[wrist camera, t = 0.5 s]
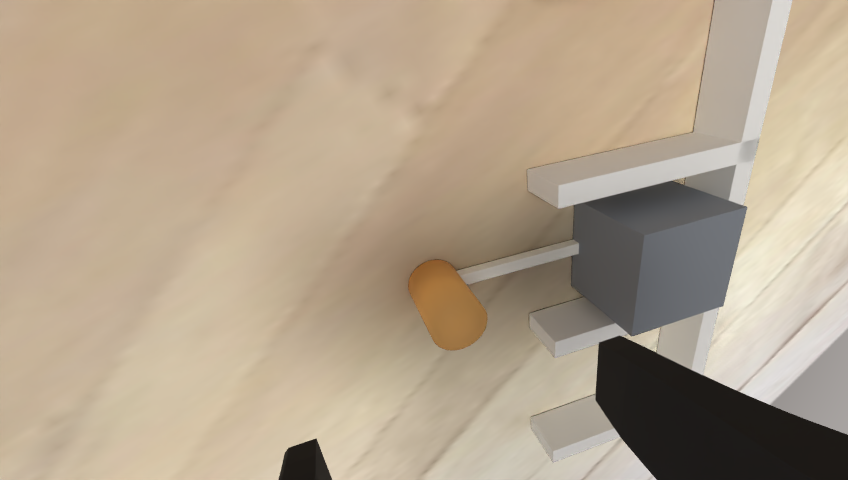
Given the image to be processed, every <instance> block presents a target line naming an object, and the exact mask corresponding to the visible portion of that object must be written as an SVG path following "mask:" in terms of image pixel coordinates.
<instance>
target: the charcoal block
mask: <svg viewBox="0 0 848 480" xmlns="http://www.w3.org/2000/svg"><path fill="white" fill-rule="evenodd" d="M746 210H747V207H746V206H743V205H740V204H737V203H734V202H732V201H729V200H726V199H723V198H720V197H717V196H714V195H711V194H708V193H706V192H703V191H700V190H697V189H694V188H691V187H688V186H685V185H682V184H680V183H677V182H674V181H668V182H664V183H660V184H656V185H652V186H648V187H644V188H640V189H636V190H632V191H628V192H624V193H620V194H616V195H612V196H608V197H604V198H600V199H596V200H591V201H587V202H583V203H579V204H575V205H574V227H573V239H572V240H569V241H565V242H561V243H557V244H554V245H550V246H546V247H543V248H539V249H535V250H531V251H528V252H524V253H520V254H516V255H513V256H509V257H505V258H502V259H498V260H494V261H490V262H487V263H483V264H479V265H476V266H472V267H468V268H464V269H461V270H457V271H456V270H455V269H454V267H453V266H452V265H451V264H449V263H448V262H446V261H443V260H431V261H427V262H425V263H423V264H421V265H420V266H418V267H417V268H416V269H415V270H414V272H413V273H412V275H411V277H410V279H409V285H408V287H409V292H410V294H411V297H412V299H413V301H414V303H415V305H416V307H417V309H418V311H419V313H420V315H421V317H422V319H423V321H424V323H425V325H426V327H427V329H428V331H429V333H430V335H431V337H432V339H433V341H434V342H435V344H436V345H438V346H439V347H441V348H443V349H446V350H459V349H463V348H466V347H468V346H470V345H471V344H473V343H474V342H475V341H477V340H478V339H479V338H480V336H481V335H482V334H483V332H484V330H485V328H486V325H487V313H486V311H485V309H484V307H483V306H482V305H481V303H480V302H479V301H478V299H477V298H476V297H475V295H474V294H473V293H472V291H471V290H470V289H469V287H468V286H467V285H468V284H472V283H476V282H479V281H483V280H486V279H490V278H494V277H497V276H501V275H504V274H508V273H512V272H515V271H519V270H522V269H526V268H530V267H533V266H537V265H540V264H544V263H548V262H551V261H555V260H558V259H562V258H566V257H569V256H572V277H571V286H572V287H573V288H575V289H576V290H577V291H578V292H579V293H581V294H582V295H583V296H584V297H585V298H586V299H588V300H589V301H590V302H591V303H592V304H594V305H595V306H596V307H597V308H598V309H600V310H601V311H602V312H603V313H604V314H606V315H607V316H608V317H609V318H610V319H611V320H613V321H614V322H615V323H616V324H617V325H619V326H620V327H621V328H622V329H623V330H625V331H626V332H627V333H628V334H629V335H630V336H635V335H638V334H641V333H644V332H647V331H650V330H653V329H656V328H659V327H662V326H665V325H668V324H671V323H674V322H677V321H680V320H683V319H686V318H689V317H692V316H695V315H698V314H701V313H704V312H707V311H710V310H713V309H716V308H719V307H722V306H723V305H724V301H725V296H726V292H727V288H728V284H729V280H730V276H731V272H732V268H733V264H734V259H735V255H736V251H737V247H738V243H739V239H740V235H741V231H742V227H743V223H744V218H745V214H746Z"/></svg>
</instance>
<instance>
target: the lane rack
mask: <svg viewBox="0 0 848 480" xmlns="http://www.w3.org/2000/svg"><path fill="white" fill-rule="evenodd" d="M791 4H792V0H715V3H714V9H713V15H712V21H711V27H710V33H709V39H708V45H707V51H706V57H705V63H704V70H703V76H702V82H701V88H700V94H699V100H698V106H697V112H696V118H695V124H694V130H693V132H692V133H688V134H683V135H679V136H674V137H670V138H665V139H661V140H656V141H652V142H647V143H643V144H638V145H634V146H629V147H625V148H621V149H616V150H612V151H607V152H603V153H598V154H594V155H589V156H585V157H580V158H576V159H571V160H567V161H562V162H558V163H553V164H549V165H545V166H540V167H536V168H531V169H527V188H528V191H529V192H531V193H533V194H534V195H536V196H538V197H539V198H541V199H543V200H544V201H546V202H548V203H549V204H551V205H553V206H554V207H556V208H558V209H559V208H563V207H567V206H571V205H575V204H579V203H583V202H587V201H591V200H596V199H600V198H604V197H608V196H612V195H616V194H620V193H624V192H628V191H632V190H636V189H640V188H644V187H648V186H652V185H656V184H660V183H664V182H668V181H672V180H676V179H680V178H684V177H686V179H685V186H688V187H691V188H694V189H697V190H700V191H703V192H706V193H708V194H711V195H714V196H717V197H720V198H723V199H726V200H729V201H732V202H734V203H737V204H740V205H744V201H745V197H746V193H747V189H748V184H749V180H750V176H751V172H752V168H753V164H754V159H755V155H756V151H757V147H758V143H759V138H760V134H761V130H762V126H763V122H764V117H765V113H766V109H767V105H768V101H769V96H770V92H771V88H772V84H773V80H774V75H775V71H776V67H777V63H778V59H779V55H780V50H781V46H782V42H783V38H784V34H785V29H786V25H787V21H788V17H789V13H790V8H791ZM718 310H719V308H716V309H713V310H710V311H707V312H704V313H701V314H698V315H695V316H692V317H689V318H686V319H683V320H680V321H677V322H674V323H671V324H668V325H665V326H662V327H661V330H660V336H659V342H658V348H657V353H658V354H660V355H662V356H664V357H666V358H668V359H670V360H672V361H674V362H676V363H678V364H680V365H682V366H684V367H687V368H689V369H691V370H693V371H695V372H697V373H699V374H701V375H703V373H704V369H705V365H706V361H707V356H708V352H709V348H710V344H711V340H712V335H713V331H714V327H715V323H716V319H717V314H718ZM529 324H530V329H531V330H532V332H533V333H534V334H535V335H536V336H537V337H538V339H539V340H540V341H541V342H542V343H543V345H544V346H545V347H546V348H547V349H548V350H549V352H550V353H551V354H552V355H553V356H554V357H555V358H557V357H560V356H563V355H566V354H569V353H572V352H575V351H578V350H581V349H584V348H587V347H590V346H593V345H596V344H599V342H602V341H605V340H608V339H611V338H614V337H617V336H624V335H627V334H628V333H627V332H626V331H625V330H623V329H622V328H621V327H620V326H619V325H617V324H616V323H615V322H614V321H613V320H611V319H610V318H609V317H608V316H607V315H606V314H604V313H603V312H602V311H601V310H600V309H598V308H597V307H596V306H595V305H594V304H592V303H591V302H590V301H589V300H588V299H586V298H585V297H582V298H579V299H576V300H572V301H569V302H566V303H562V304H559V305H556V306H552V307H549V308H546V309H542V310H539V311H536V312H532V313H529ZM595 398H596V394H595V395H592V396H589V397H587V398H584V399H581V400H578V401H575V402H572V403H570V404H567V405H564V406H561V407H558V408H556V409H553V410H550V411H547V412H544V413H541V414H539V415H536V416H533V417H531V429H532V431H533V432H534V434H535V435H536V437H537V438H538V440H539V442H540V443H541V445H542V446H543V448H544V449H545V451H546V453H547V454H548V456H549V457H550V459H551V461H552V462H556V461H559V460H561V459H564V458H566V457H569V456H572V455H574V454H577V453H579V452H582V451H585V450H587V449H590V448H593V447H595V446H598V445H600V444H603V443H606V442H608V441H611V440H613V439H616V438H619V437H620V436H619V434H618V433H617V431H616V430H615V428H614V427H613V426H612V424H611V423H610V421H609V420H608V418H607V417H606V415H605V414H604V412H603V411H602V409H601V408H600V406H599V405H598V403H597V402H596V400H595Z"/></svg>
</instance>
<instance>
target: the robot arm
mask: <svg viewBox="0 0 848 480" xmlns="http://www.w3.org/2000/svg"><path fill="white" fill-rule="evenodd" d="M595 400H596V402H597V403H598V405H599V406H600V408H601V409H602V411H603V412H604V414H605V415H606V417H607V418H608V420H609V421H610V423H611V424H612V426H613V427H614V428H615V430H616V431H617V433H618V434H619V436H620V437H621V438H622V439H623V441H624V442H625V443H626V444H627V445H628V447H629V448H630V449H631V450H632V451H633V452H634V454H635V455H636V456H637V457H638V458H639V460H640V461H641V462H642V463H643V464H644V465H645V467H646V468H647V469H648V470H649V471H650V472H651V474H652V475H653V476H654V477H655V478H656V479H657V480H848V435H847V434H844V433H841V432H839V431H836V430H833V429H830V428H828V427H825V426H822V425H819V424H816V423H814V422H811V421H808V420H806V419H803V418H800V417H798V416H796V415H793V414H790V413H788V412H785V411H783V410H781V409H778V408H776V407H773V406H771V405H769V404H766V403H764V402H762V401H759V400H757V399H754V398H752V397H750V396H747V395H745V394H743V393H741V392H738V391H736V390H734V389H732V388H729V387H727V386H725V385H723V384H721V383H718V382H716V381H714V380H712V379H710V378H708V377H706V376H703V375H701V374H699V373H697V372H695V371H693V370H691V369H689V368H687V367H684V366H682V365H680V364H678V363H676V362H674V361H672V360H670V359H668V358H666V357H664V356H662V355H660V354H658V353H656V352H654V351H652V350H649V349H647V348H645V347H643V346H641V345H639V344H637V343H635V342H633V341H631V340H628V339H626V338H624V337H622V336H617V337H614V338H611V339H608V340H605V341H602V342H599V350H598V366H597V382H596V398H595ZM279 480H332V478H331V476H330V473H329V470H328V468H327V465H326V463H325V460H324V457H323V455H322V452H321V449H320V447H319V444H318V442H317V439H313V440H311V441H308V442H305V443H302V444H299V445H296V446H293V447H290V448H288V450H287V451H286V452H285V455H284V459H283V464H282V468H281V472H280V476H279Z"/></svg>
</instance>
